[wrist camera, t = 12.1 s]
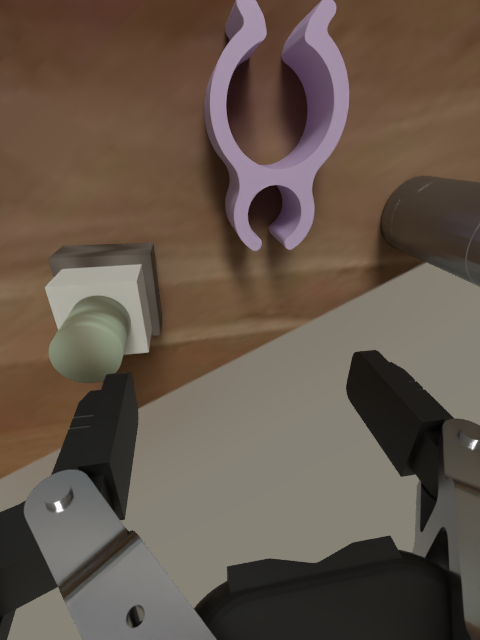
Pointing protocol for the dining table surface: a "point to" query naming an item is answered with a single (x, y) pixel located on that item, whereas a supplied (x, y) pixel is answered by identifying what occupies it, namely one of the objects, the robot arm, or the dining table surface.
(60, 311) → the top block
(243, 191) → the clip
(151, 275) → the base block
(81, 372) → the sage cylinder
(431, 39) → the dining table surface
